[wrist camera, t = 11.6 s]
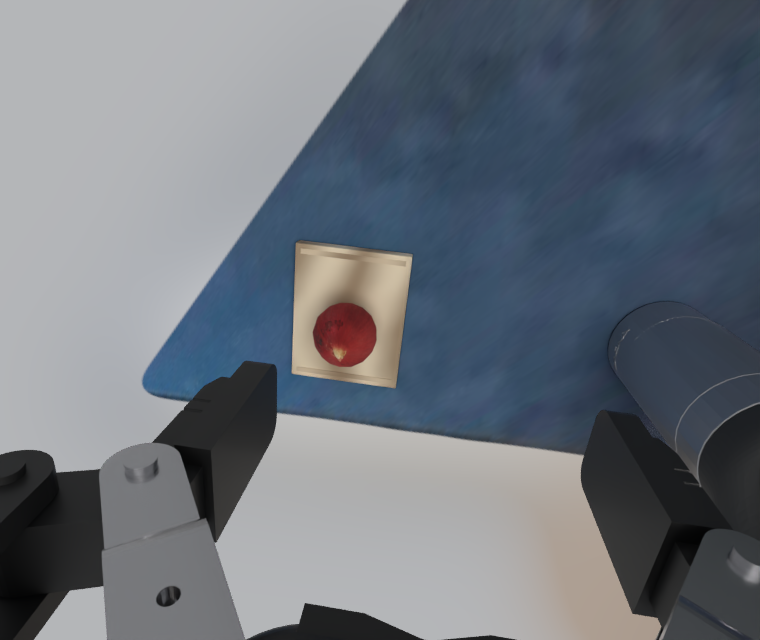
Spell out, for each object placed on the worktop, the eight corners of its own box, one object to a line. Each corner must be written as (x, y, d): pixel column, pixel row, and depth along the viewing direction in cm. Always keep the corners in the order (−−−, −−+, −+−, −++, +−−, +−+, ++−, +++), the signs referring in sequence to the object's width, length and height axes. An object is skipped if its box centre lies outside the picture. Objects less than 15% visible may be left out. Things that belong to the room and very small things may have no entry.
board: (412, 254, 45) (412, 257, 44) (396, 382, 50) (395, 388, 49) (299, 240, 46) (295, 243, 45) (294, 368, 51) (291, 374, 50)
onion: (315, 334, 48) (293, 371, 41) (332, 283, 46) (312, 312, 38) (369, 354, 48) (357, 395, 41) (389, 304, 46) (380, 338, 39)
